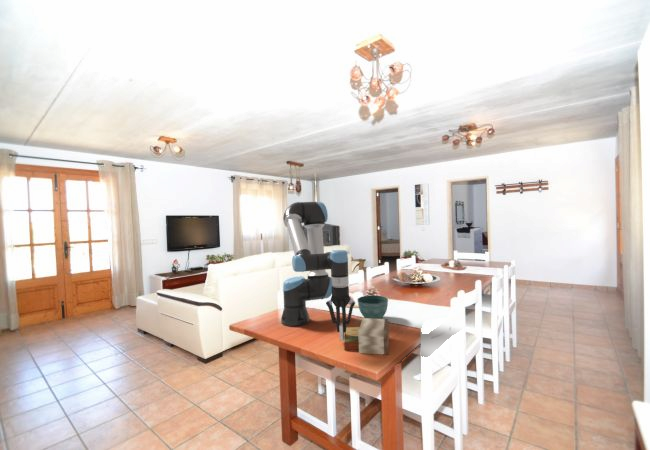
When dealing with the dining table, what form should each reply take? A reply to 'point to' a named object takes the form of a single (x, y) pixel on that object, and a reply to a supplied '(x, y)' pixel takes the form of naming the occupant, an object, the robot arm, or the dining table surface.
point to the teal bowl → (373, 306)
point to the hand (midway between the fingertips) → (342, 339)
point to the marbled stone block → (373, 336)
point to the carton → (351, 338)
